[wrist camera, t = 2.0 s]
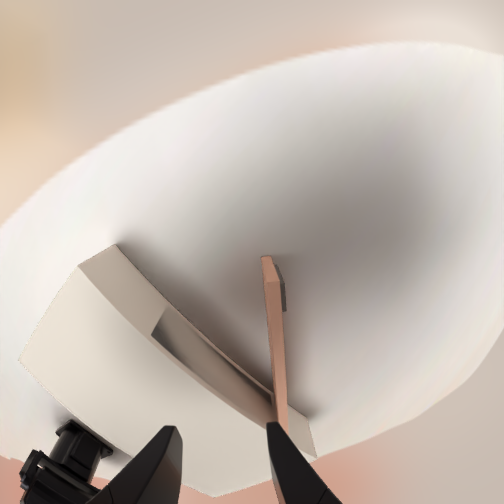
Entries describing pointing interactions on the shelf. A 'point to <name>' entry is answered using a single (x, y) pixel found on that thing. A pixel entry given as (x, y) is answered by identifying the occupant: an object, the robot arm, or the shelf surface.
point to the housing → (154, 377)
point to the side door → (276, 335)
